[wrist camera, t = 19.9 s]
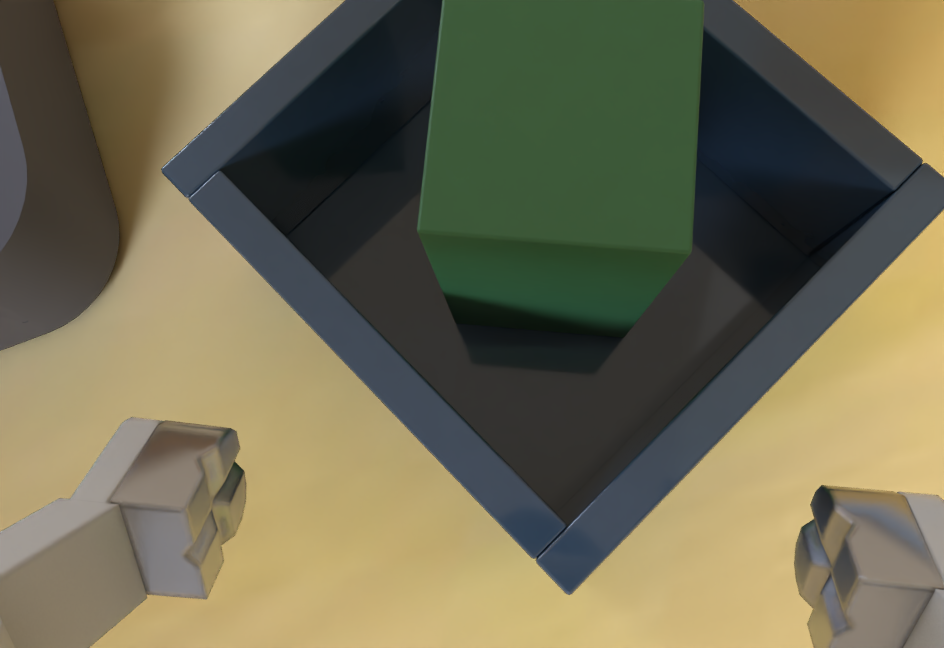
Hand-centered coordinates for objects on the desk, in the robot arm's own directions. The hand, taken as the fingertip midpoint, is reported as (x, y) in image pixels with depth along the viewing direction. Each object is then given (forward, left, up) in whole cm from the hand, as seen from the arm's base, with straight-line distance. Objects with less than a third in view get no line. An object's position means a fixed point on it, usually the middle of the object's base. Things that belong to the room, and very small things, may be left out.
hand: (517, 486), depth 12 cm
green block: (-4, +5, -11) cm, 13 cm away
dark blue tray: (-4, +5, -12) cm, 14 cm away
